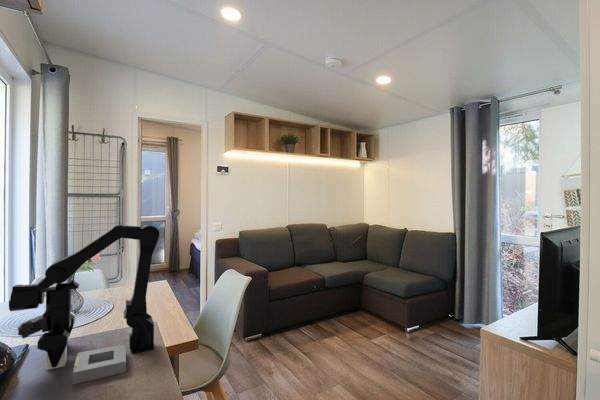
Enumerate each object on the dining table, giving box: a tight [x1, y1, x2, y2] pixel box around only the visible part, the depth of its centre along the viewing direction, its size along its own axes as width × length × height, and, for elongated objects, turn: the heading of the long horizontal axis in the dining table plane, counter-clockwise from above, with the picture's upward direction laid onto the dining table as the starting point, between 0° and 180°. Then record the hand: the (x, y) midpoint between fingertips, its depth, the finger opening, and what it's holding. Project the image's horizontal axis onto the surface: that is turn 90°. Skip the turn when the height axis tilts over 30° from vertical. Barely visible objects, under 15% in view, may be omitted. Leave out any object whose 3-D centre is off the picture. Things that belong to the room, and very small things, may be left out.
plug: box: [46, 345, 68, 370], centre depth 89 cm, size 4×4×7 cm
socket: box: [71, 343, 127, 385], centre depth 88 cm, size 12×12×3 cm
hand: (57, 359), depth 89 cm, fingers open, 9 cm apart
